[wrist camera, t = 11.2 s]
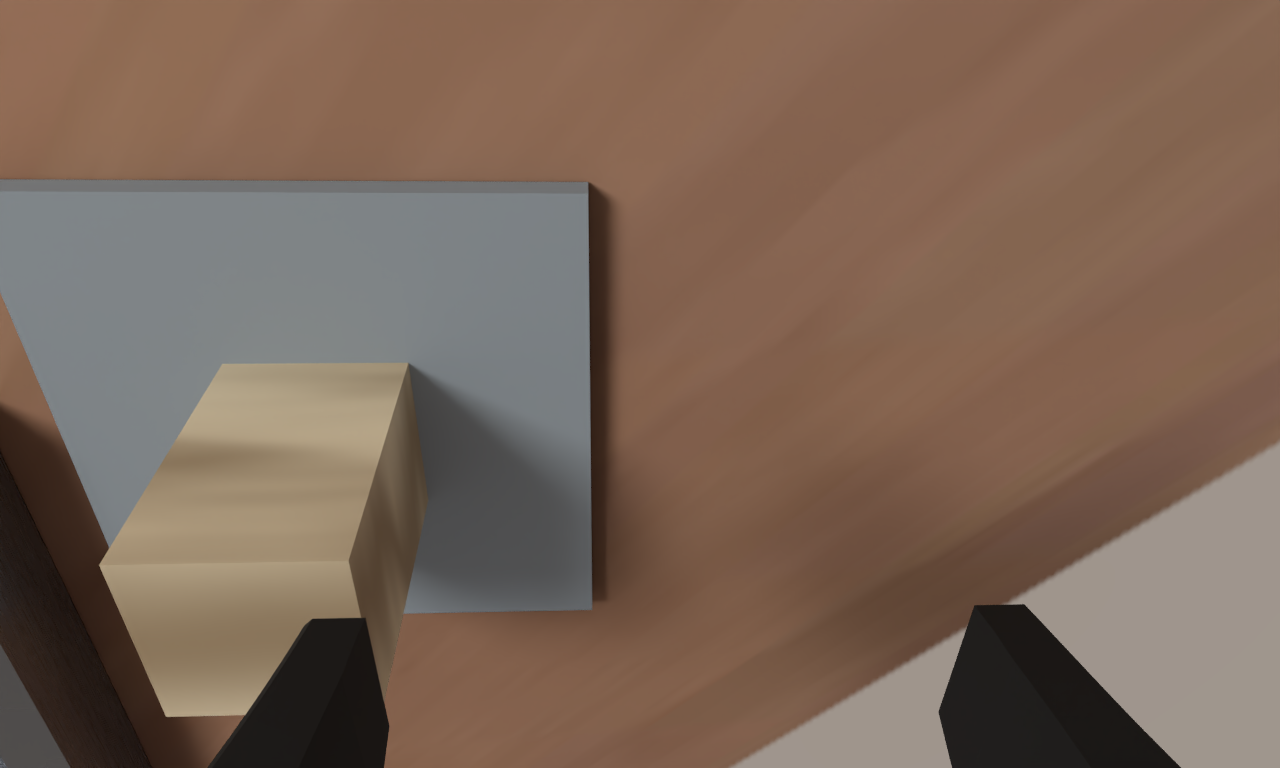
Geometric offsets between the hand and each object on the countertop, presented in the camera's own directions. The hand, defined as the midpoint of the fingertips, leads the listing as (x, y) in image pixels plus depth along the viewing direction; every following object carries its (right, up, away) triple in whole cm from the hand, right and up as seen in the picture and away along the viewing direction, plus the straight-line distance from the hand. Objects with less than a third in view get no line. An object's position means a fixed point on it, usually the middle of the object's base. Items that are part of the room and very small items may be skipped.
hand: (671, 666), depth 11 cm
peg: (-8, +2, +10) cm, 13 cm away
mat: (-8, +2, +10) cm, 13 cm away
